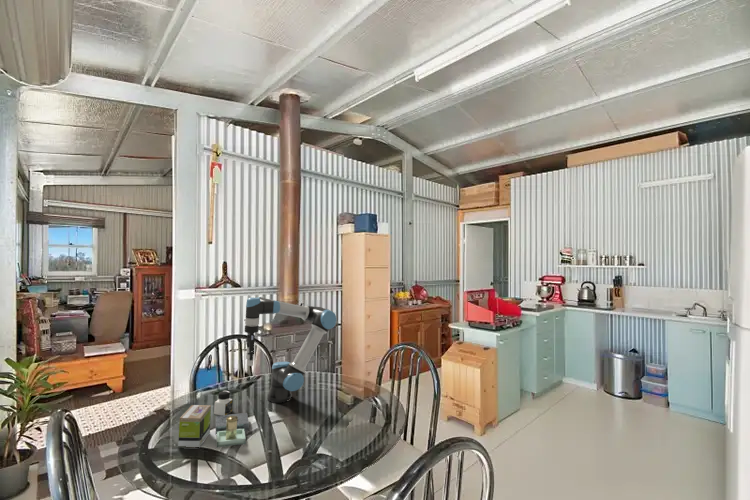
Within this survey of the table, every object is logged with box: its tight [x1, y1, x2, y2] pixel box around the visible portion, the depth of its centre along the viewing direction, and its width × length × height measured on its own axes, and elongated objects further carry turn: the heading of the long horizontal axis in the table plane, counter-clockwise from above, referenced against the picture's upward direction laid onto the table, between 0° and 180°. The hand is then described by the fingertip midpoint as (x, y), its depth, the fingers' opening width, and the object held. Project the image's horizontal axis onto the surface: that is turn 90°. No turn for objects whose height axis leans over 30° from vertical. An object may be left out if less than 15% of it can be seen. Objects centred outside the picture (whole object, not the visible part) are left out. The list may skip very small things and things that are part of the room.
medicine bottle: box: [213, 390, 233, 416], centre depth 217 cm, size 7×7×12 cm
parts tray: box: [216, 428, 246, 448], centre depth 188 cm, size 13×11×2 cm
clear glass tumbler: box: [225, 416, 238, 440], centre depth 188 cm, size 5×5×10 cm
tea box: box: [177, 404, 212, 448], centre depth 185 cm, size 15×10×15 cm, turn 5°
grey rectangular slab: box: [215, 412, 250, 435], centre depth 201 cm, size 16×13×4 cm
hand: (249, 362), depth 215 cm, fingers open, 13 cm apart
